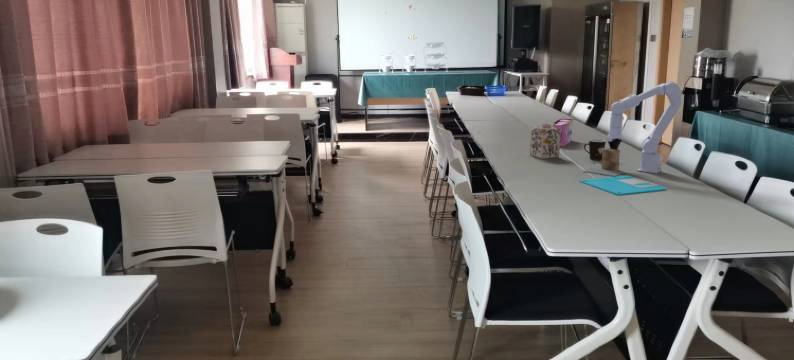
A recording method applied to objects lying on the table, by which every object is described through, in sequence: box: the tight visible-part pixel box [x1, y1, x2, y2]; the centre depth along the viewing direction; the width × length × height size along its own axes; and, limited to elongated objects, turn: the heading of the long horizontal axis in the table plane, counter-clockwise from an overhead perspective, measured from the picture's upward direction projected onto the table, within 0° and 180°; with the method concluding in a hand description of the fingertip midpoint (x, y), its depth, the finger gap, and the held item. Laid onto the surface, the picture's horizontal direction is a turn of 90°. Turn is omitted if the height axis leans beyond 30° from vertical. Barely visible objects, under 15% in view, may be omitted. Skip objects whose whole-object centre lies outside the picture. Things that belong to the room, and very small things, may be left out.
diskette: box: [579, 175, 667, 196], centre depth 274 cm, size 26×28×1 cm
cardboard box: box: [601, 147, 621, 171], centre depth 304 cm, size 7×4×10 cm, turn 50°
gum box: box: [552, 118, 574, 147], centre depth 374 cm, size 24×8×14 cm, turn 154°
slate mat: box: [582, 167, 624, 177], centre depth 299 cm, size 16×10×1 cm, turn 50°
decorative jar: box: [529, 122, 561, 160], centre depth 334 cm, size 12×12×18 cm
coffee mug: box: [583, 138, 607, 161], centre depth 329 cm, size 12×9×10 cm
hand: (613, 153), depth 305 cm, fingers closed
